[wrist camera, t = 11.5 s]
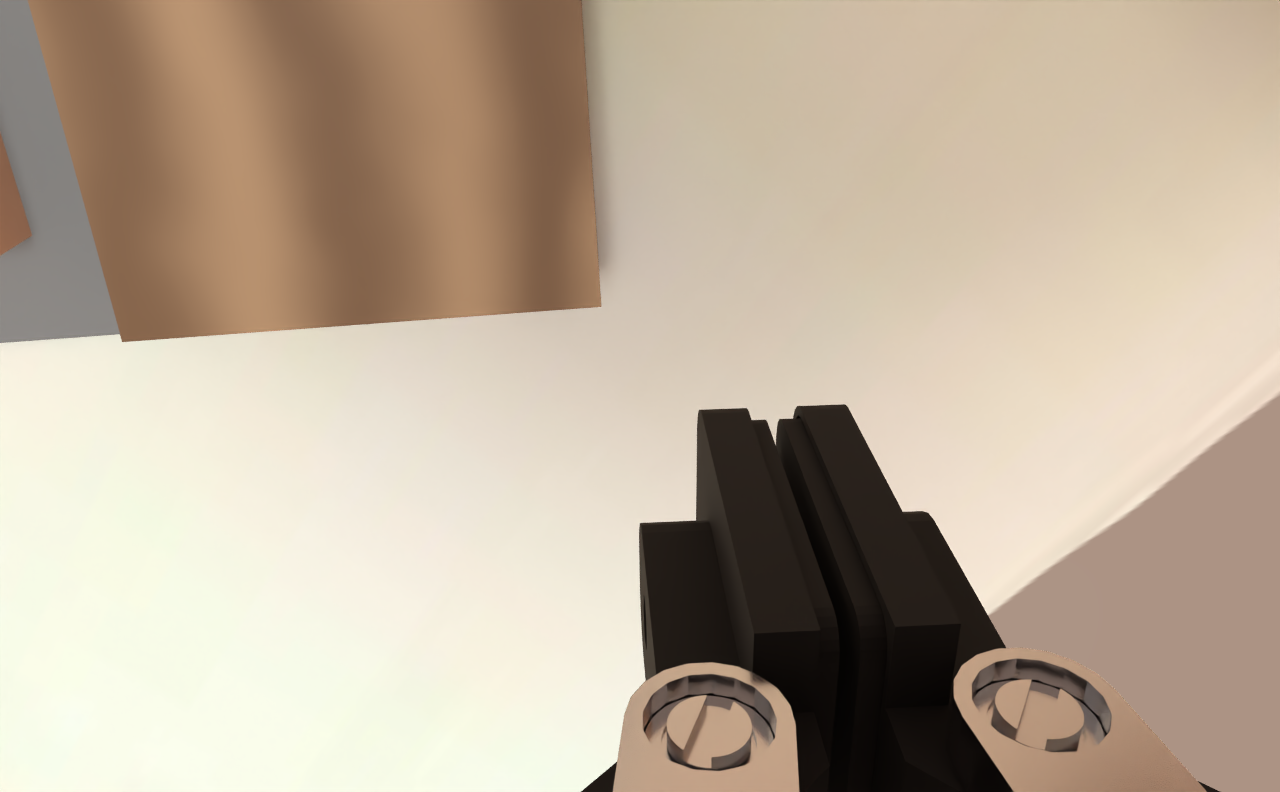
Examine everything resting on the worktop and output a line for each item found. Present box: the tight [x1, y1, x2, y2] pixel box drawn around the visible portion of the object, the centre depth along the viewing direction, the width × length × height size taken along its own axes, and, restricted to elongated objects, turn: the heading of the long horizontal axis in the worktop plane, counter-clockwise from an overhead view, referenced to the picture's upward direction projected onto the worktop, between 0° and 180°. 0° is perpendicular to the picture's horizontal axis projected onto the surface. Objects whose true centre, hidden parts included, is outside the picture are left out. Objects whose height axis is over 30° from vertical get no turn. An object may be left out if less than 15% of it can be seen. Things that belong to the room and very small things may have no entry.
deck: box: [28, 0, 601, 342], centre depth 34 cm, size 16×14×4 cm
